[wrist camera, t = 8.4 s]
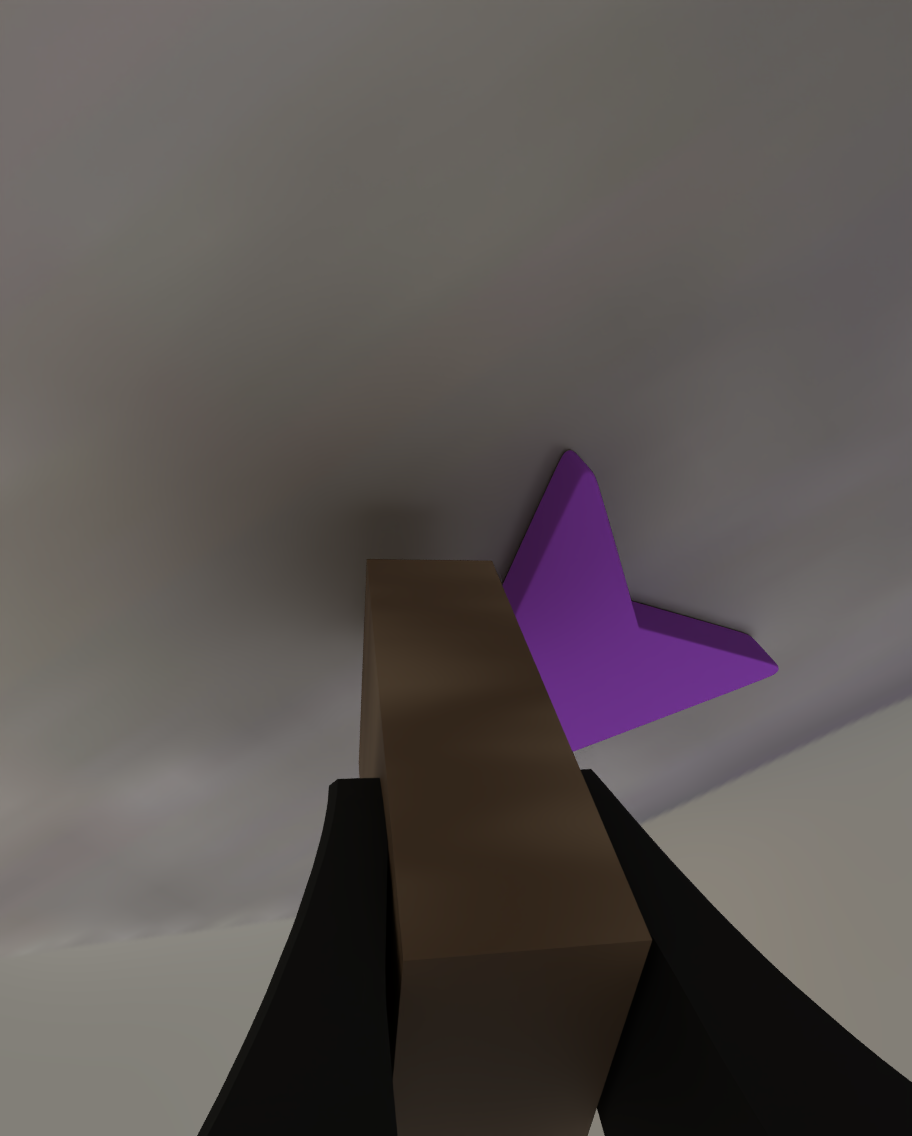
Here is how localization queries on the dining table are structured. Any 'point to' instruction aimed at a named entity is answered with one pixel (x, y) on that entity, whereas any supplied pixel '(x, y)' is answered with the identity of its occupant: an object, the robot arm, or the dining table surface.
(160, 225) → the dining table surface
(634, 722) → the arrowhead
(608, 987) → the tall wooden plank
